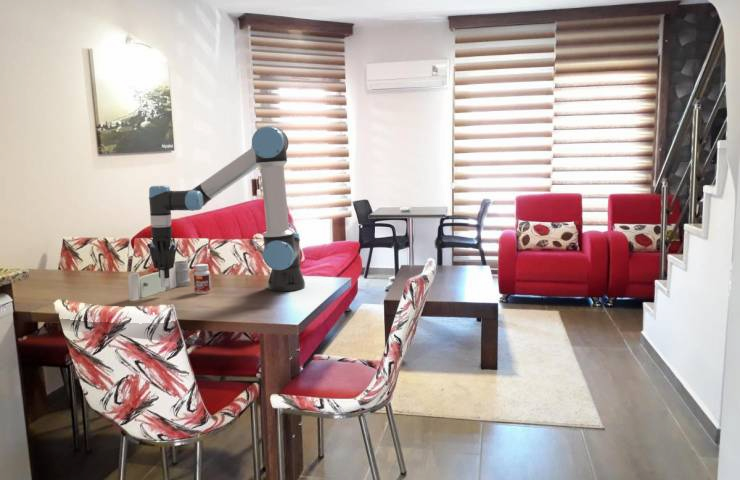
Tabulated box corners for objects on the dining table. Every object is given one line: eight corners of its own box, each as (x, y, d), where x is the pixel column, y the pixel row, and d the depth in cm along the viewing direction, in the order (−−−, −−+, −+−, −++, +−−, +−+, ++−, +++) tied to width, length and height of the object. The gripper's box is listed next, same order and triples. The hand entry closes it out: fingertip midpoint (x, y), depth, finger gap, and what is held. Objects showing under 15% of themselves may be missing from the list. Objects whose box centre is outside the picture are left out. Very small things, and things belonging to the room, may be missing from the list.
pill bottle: (195, 295, 225) (194, 266, 224) (193, 292, 231) (192, 264, 229) (211, 293, 227) (210, 265, 226) (209, 290, 233) (208, 263, 232)
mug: (179, 287, 239) (177, 259, 238) (162, 284, 246) (160, 256, 245) (194, 284, 245) (193, 256, 244) (177, 281, 252) (176, 254, 251)
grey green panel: (167, 290, 234) (166, 271, 233) (144, 298, 221) (142, 277, 220) (163, 290, 235) (162, 270, 233) (139, 297, 221) (138, 277, 220)
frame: (176, 287, 240) (175, 263, 239) (132, 301, 216) (131, 274, 215) (173, 286, 241) (171, 263, 239) (129, 300, 217) (127, 274, 215)
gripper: (181, 225, 221) (184, 285, 224) (154, 224, 226) (157, 283, 229) (168, 227, 214) (172, 289, 217) (140, 226, 219) (144, 287, 222)
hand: (164, 286), depth 223 cm, fingers closed
